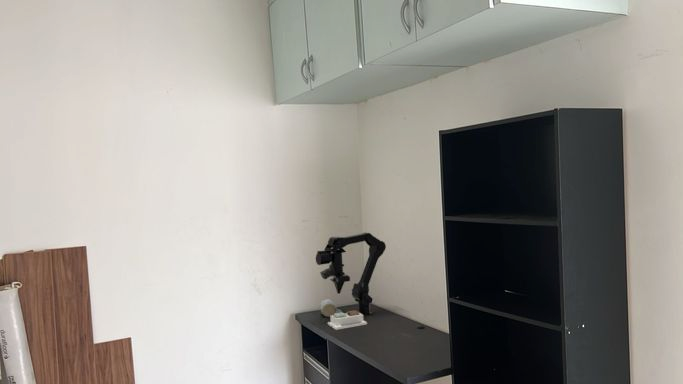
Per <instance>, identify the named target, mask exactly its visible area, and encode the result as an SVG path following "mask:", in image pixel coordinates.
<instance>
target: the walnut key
mask: <svg viewBox="0 0 683 384" xmlns="http://www.w3.org/2000/svg"><path fill="white" fill-rule="evenodd" d="M346 313H347V314H348V315H349V316H354V315H359V310H356V309H354V310H348V311H347V312H346Z"/></svg>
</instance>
